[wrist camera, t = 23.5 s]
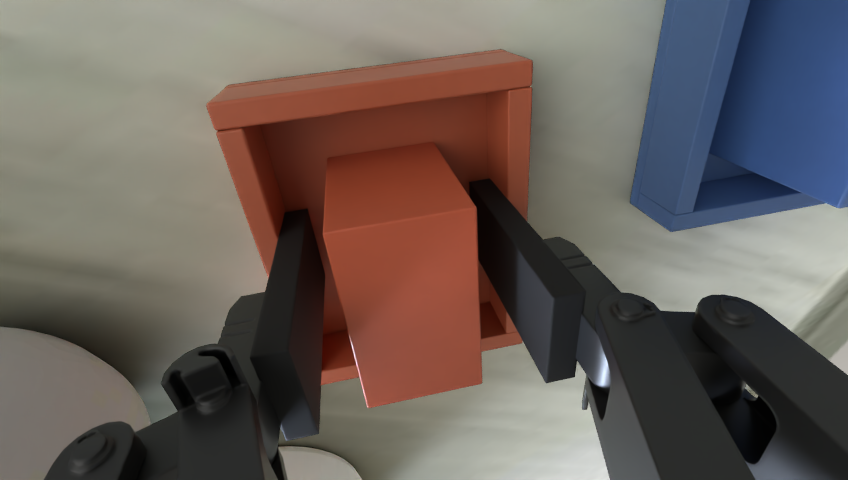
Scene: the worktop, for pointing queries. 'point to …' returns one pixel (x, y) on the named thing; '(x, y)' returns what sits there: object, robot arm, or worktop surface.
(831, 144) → the blue rectangular block
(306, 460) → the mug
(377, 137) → the tray rust
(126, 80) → the worktop surface
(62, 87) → the worktop surface
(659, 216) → the tray blue
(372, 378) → the rust bar
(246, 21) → the worktop surface
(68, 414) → the teacup
